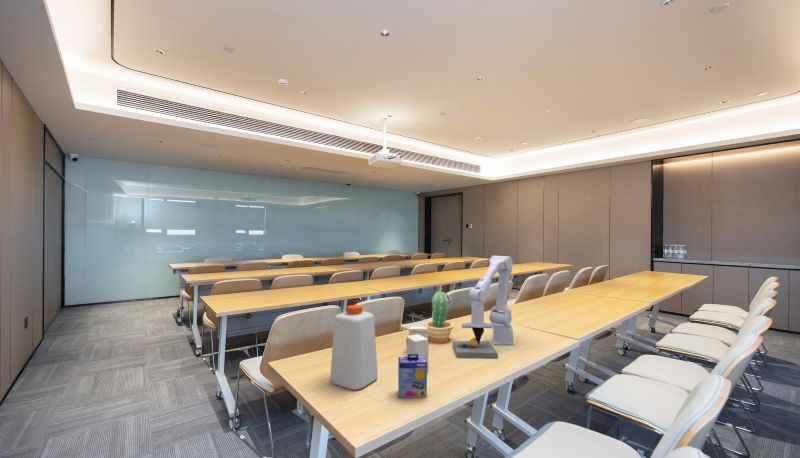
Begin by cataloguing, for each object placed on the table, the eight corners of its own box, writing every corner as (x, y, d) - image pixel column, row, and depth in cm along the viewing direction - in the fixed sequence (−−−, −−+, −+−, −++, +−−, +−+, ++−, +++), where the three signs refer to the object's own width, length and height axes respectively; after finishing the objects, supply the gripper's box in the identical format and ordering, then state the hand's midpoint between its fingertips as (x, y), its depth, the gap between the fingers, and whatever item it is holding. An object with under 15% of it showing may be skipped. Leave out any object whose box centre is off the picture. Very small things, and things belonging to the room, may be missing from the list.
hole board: (489, 346, 165) (489, 341, 165) (497, 358, 149) (497, 352, 149) (452, 345, 165) (452, 340, 166) (457, 357, 150) (457, 352, 150)
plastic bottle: (357, 393, 117) (357, 313, 117) (325, 383, 125) (325, 307, 125) (382, 377, 129) (382, 305, 130) (351, 369, 137) (352, 300, 138)
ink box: (427, 351, 158) (427, 326, 158) (427, 355, 153) (427, 329, 153) (409, 350, 159) (409, 325, 159) (409, 354, 154) (409, 328, 154)
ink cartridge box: (398, 398, 113) (398, 355, 113) (397, 390, 119) (397, 349, 119) (427, 397, 114) (427, 354, 114) (425, 389, 119) (425, 349, 120)
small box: (428, 371, 135) (428, 339, 135) (415, 374, 132) (415, 341, 132) (419, 364, 142) (419, 333, 142) (405, 367, 139) (405, 335, 140)
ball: (475, 335, 159) (467, 338, 159) (477, 338, 155) (469, 341, 155) (478, 343, 159) (471, 346, 159) (480, 346, 155) (473, 349, 155)
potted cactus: (456, 344, 167) (455, 294, 167) (425, 344, 167) (425, 294, 167) (451, 335, 182) (451, 289, 183) (423, 335, 183) (423, 289, 183)
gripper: (463, 316, 153) (463, 346, 153) (495, 316, 153) (495, 346, 153) (461, 312, 160) (461, 341, 160) (491, 313, 160) (491, 341, 160)
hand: (477, 343), depth 157 cm, fingers closed, pressing on ball
